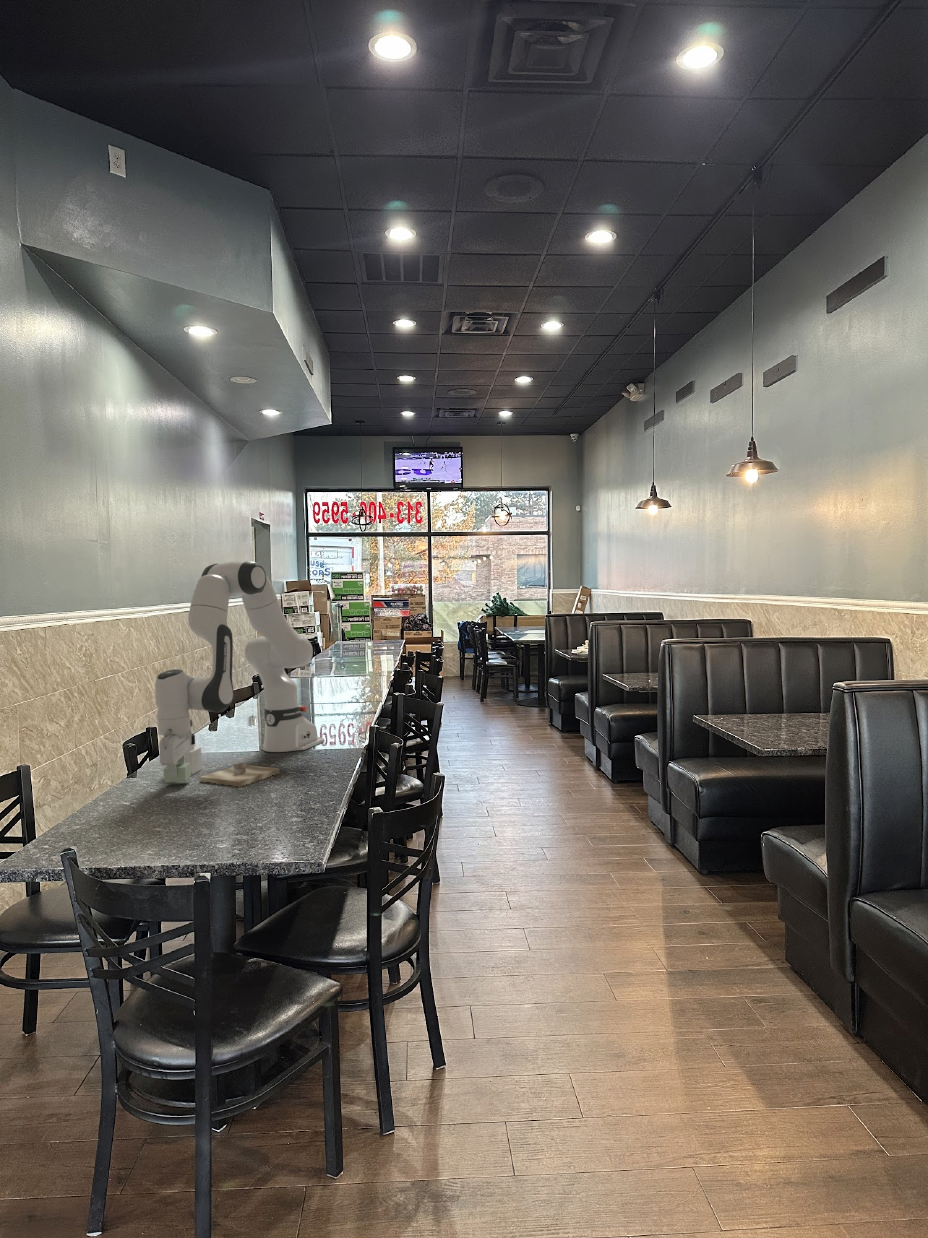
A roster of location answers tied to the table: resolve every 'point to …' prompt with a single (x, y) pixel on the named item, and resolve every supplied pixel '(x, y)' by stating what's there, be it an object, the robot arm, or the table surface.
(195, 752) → the medicine bottle
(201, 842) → the table surface
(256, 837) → the table surface
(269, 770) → the base plate
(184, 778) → the green block with hole
